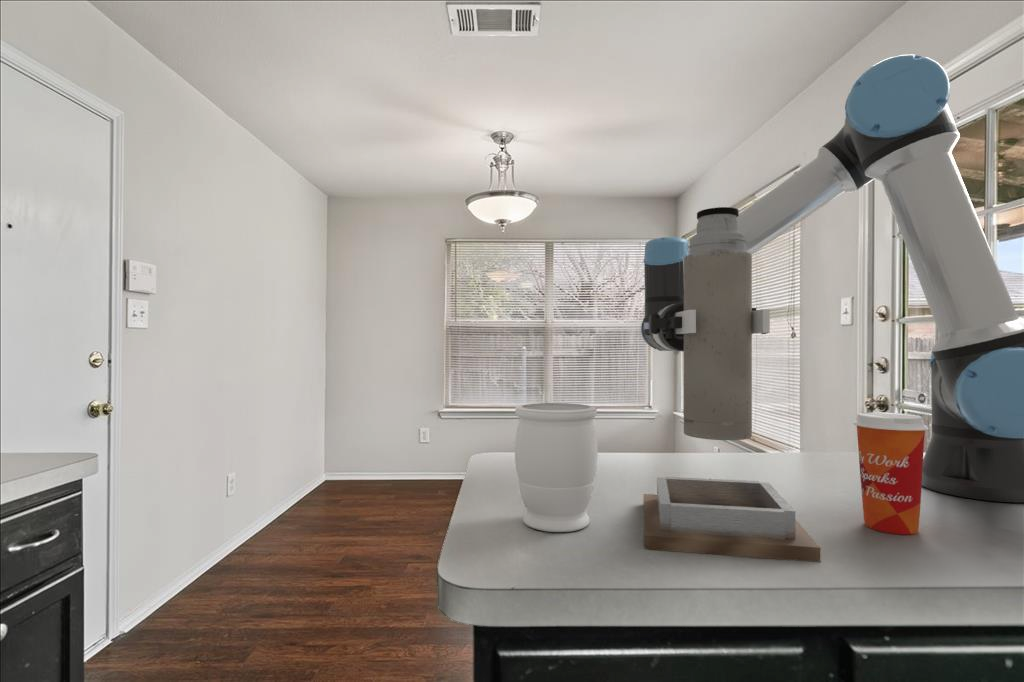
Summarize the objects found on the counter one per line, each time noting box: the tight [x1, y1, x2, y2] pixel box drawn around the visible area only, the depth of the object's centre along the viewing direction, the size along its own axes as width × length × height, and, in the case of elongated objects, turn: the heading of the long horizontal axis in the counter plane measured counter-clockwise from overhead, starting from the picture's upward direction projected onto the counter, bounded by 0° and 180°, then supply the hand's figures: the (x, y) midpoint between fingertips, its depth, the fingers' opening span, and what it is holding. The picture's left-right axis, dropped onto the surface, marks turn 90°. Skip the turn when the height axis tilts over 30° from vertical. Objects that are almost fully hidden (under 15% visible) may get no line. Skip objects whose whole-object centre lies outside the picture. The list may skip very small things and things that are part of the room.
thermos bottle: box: [683, 206, 753, 441], centre depth 70 cm, size 8×8×28 cm
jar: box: [514, 402, 599, 533], centre depth 72 cm, size 11×10×15 cm
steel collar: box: [656, 476, 797, 540], centre depth 70 cm, size 14×14×3 cm
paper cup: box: [853, 411, 929, 536], centre depth 70 cm, size 8×8×14 cm
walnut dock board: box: [643, 493, 822, 563], centre depth 70 cm, size 18×18×2 cm
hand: (729, 321), depth 65 cm, fingers closed on thermos bottle, 8 cm apart
